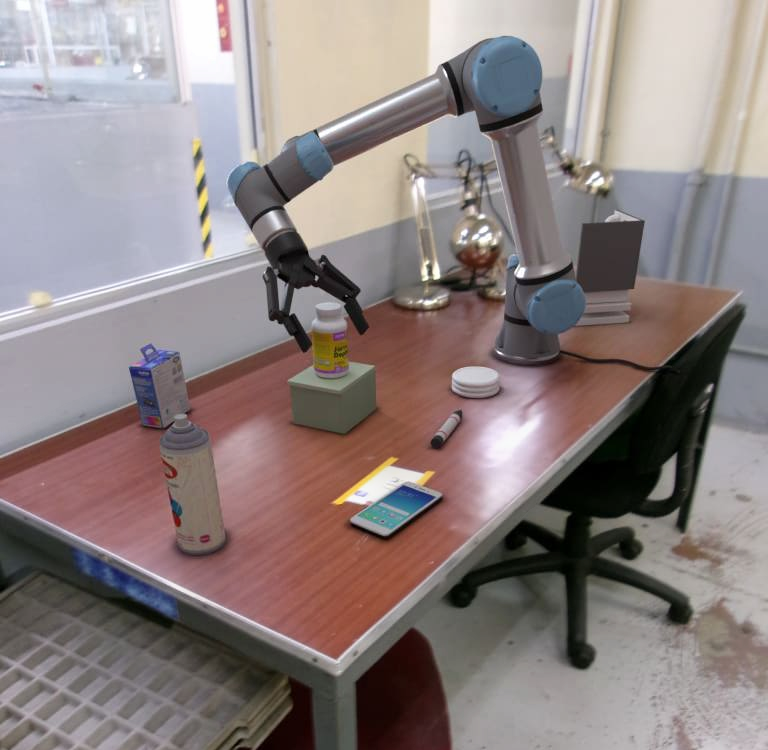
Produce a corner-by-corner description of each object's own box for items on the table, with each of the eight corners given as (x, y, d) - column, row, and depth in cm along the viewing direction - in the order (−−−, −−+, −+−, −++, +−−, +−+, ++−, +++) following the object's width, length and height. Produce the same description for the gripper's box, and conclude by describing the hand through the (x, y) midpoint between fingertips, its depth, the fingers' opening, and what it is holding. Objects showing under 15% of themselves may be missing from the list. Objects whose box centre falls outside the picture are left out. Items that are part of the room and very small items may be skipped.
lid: (340, 394, 135) (339, 390, 134) (287, 384, 139) (287, 380, 139) (375, 369, 145) (375, 365, 144) (325, 361, 149) (325, 357, 149)
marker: (440, 449, 134) (440, 439, 132) (430, 447, 134) (430, 437, 133) (466, 416, 146) (466, 406, 144) (456, 414, 146) (456, 405, 145)
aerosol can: (174, 535, 111) (150, 411, 100) (219, 525, 113) (200, 402, 103) (183, 559, 105) (158, 431, 95) (231, 548, 108) (212, 421, 97)
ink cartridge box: (168, 406, 152) (155, 337, 144) (191, 409, 150) (180, 339, 143) (139, 426, 144) (124, 353, 137) (164, 429, 143) (150, 356, 135)
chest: (344, 434, 140) (342, 393, 135) (293, 423, 144) (289, 383, 140) (376, 408, 149) (375, 369, 145) (327, 399, 154) (325, 361, 149)
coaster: (466, 377, 163) (467, 362, 161) (507, 387, 158) (508, 371, 156) (442, 392, 156) (443, 376, 154) (484, 403, 151) (485, 386, 149)
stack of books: (628, 322, 194) (644, 220, 181) (558, 327, 191) (569, 224, 178) (604, 305, 207) (617, 209, 194) (538, 309, 205) (547, 213, 192)
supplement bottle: (336, 382, 138) (332, 313, 131) (307, 375, 141) (302, 308, 134) (356, 370, 142) (353, 303, 136) (327, 364, 146) (323, 298, 139)
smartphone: (347, 519, 112) (406, 480, 122) (347, 524, 112) (406, 484, 122) (386, 535, 108) (444, 493, 118) (386, 540, 109) (444, 498, 118)
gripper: (325, 244, 148) (377, 334, 147) (217, 267, 134) (274, 367, 133) (341, 219, 142) (396, 313, 141) (229, 240, 128) (289, 345, 126)
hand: (337, 339), depth 137 cm, fingers open, 13 cm apart
